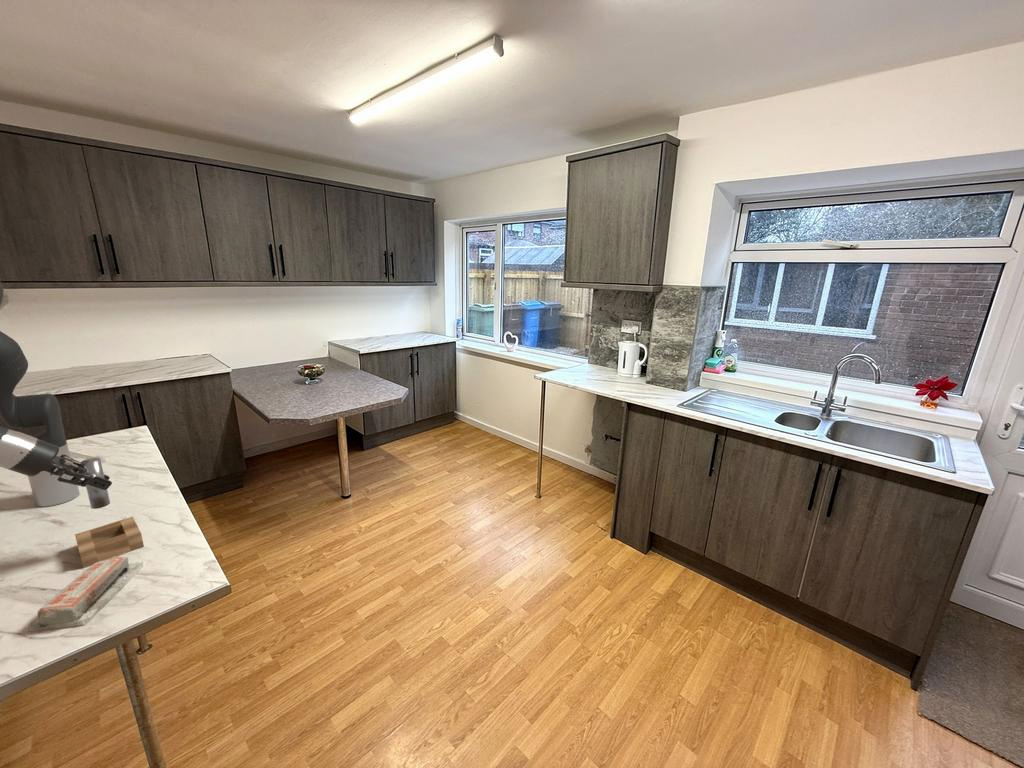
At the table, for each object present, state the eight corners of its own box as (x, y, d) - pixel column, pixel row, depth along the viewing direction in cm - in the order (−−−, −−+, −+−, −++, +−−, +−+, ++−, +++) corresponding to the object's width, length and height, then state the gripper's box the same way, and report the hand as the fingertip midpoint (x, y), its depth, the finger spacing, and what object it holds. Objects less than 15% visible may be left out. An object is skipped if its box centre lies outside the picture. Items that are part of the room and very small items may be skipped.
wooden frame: (78, 548, 104) (74, 534, 103) (135, 529, 113) (132, 516, 112) (83, 568, 98) (79, 553, 97) (144, 546, 106) (141, 533, 105)
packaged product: (82, 607, 81) (20, 614, 79) (87, 627, 82) (27, 634, 80) (141, 549, 98) (92, 554, 96) (145, 567, 99) (96, 571, 97)
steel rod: (90, 505, 102) (79, 460, 99) (109, 499, 104) (99, 456, 101) (92, 510, 100) (81, 465, 97) (111, 504, 102) (101, 460, 99)
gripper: (37, 447, 87) (125, 479, 99) (34, 430, 96) (115, 461, 108) (4, 478, 84) (99, 507, 97) (4, 458, 93) (91, 487, 105)
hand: (107, 483), depth 102 cm, fingers closed on steel rod, 3 cm apart
